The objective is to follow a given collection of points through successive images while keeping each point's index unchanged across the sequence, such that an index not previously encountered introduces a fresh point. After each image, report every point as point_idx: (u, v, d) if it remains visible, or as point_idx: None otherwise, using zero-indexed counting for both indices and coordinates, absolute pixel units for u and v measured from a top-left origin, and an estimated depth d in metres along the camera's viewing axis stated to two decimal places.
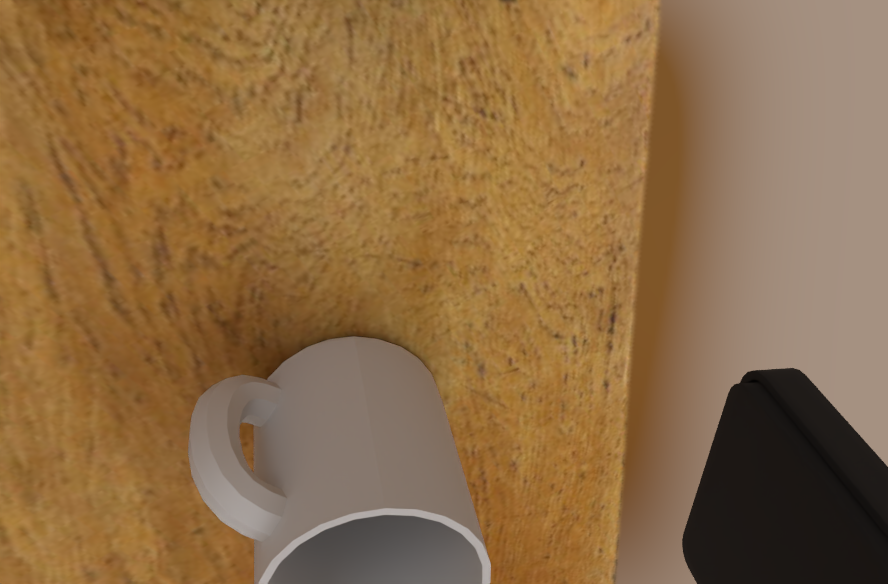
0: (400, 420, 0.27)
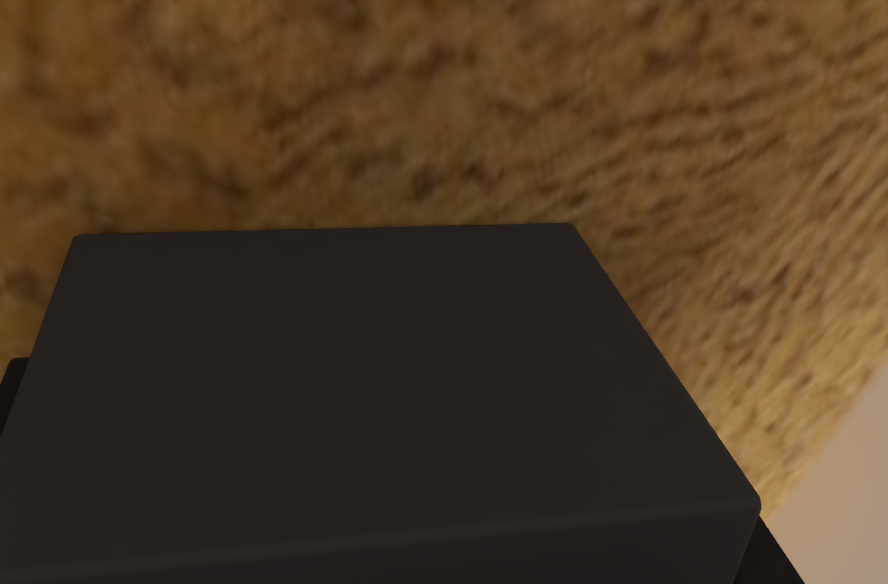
0: None
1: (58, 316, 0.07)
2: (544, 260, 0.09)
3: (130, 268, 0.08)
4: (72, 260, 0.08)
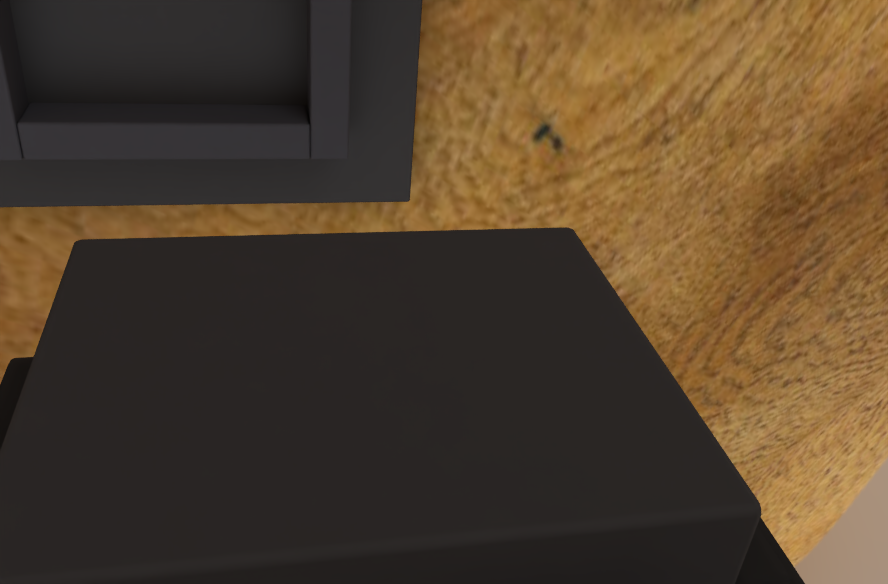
0: None
1: (59, 322, 0.07)
2: (544, 264, 0.09)
3: (132, 273, 0.08)
4: (73, 265, 0.08)
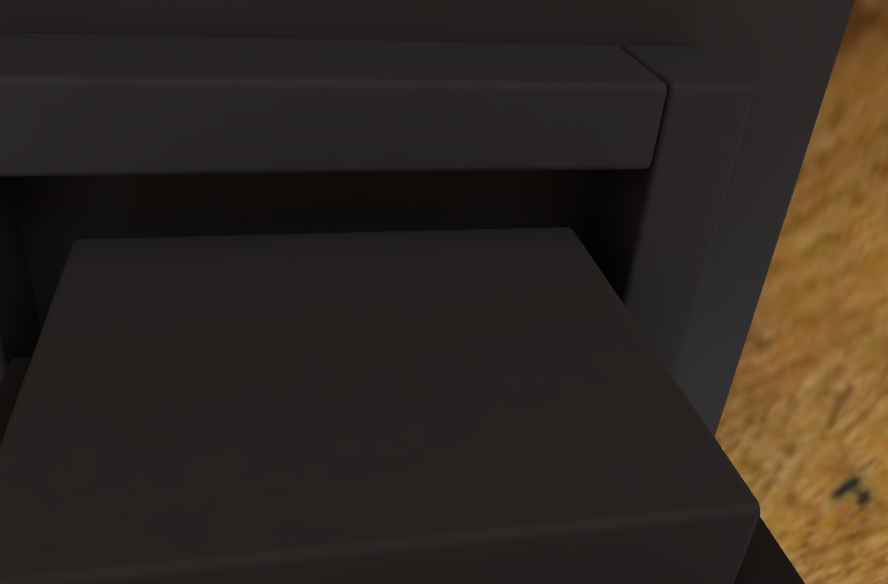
0: None
1: (59, 322, 0.07)
2: (544, 263, 0.09)
3: (130, 272, 0.08)
4: (72, 264, 0.08)
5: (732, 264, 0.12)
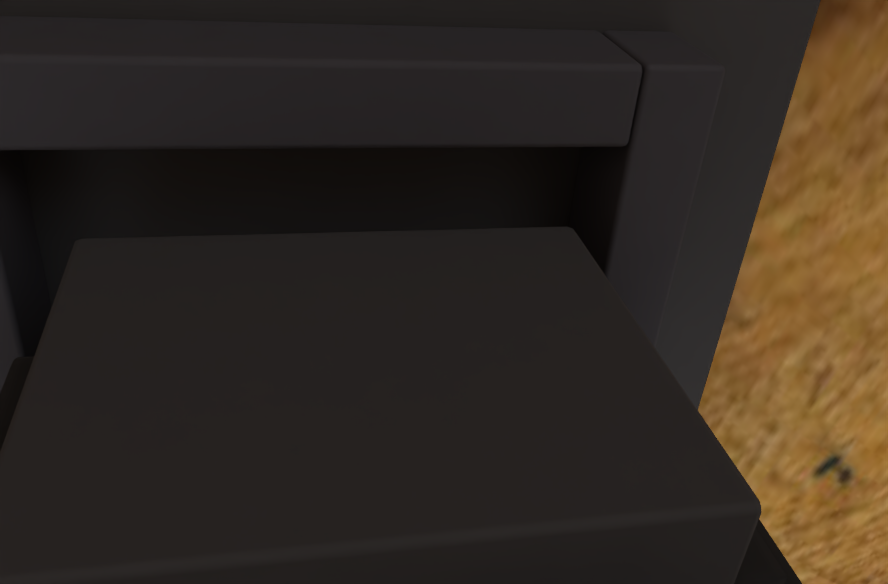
0: None
1: (60, 321, 0.07)
2: (545, 263, 0.09)
3: (132, 272, 0.08)
4: (74, 264, 0.08)
5: (711, 243, 0.13)
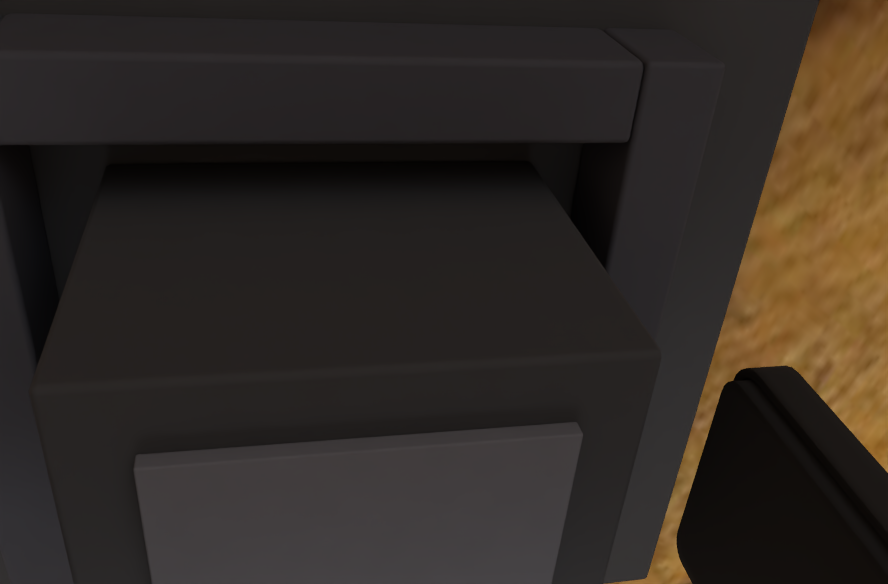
0: None
1: (99, 222, 0.09)
2: (504, 187, 0.11)
3: (155, 188, 0.10)
4: (107, 182, 0.10)
5: (712, 239, 0.13)
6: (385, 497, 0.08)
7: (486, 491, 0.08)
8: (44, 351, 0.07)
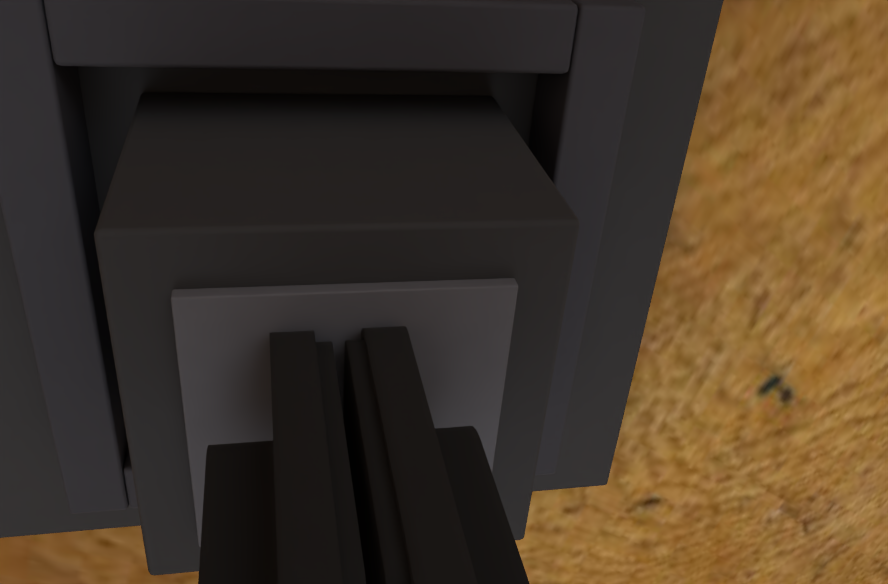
0: None
1: (138, 130, 0.11)
2: (468, 113, 0.13)
3: (183, 109, 0.12)
4: (142, 104, 0.12)
5: (651, 168, 0.15)
6: None
7: (443, 332, 0.10)
8: (103, 209, 0.09)
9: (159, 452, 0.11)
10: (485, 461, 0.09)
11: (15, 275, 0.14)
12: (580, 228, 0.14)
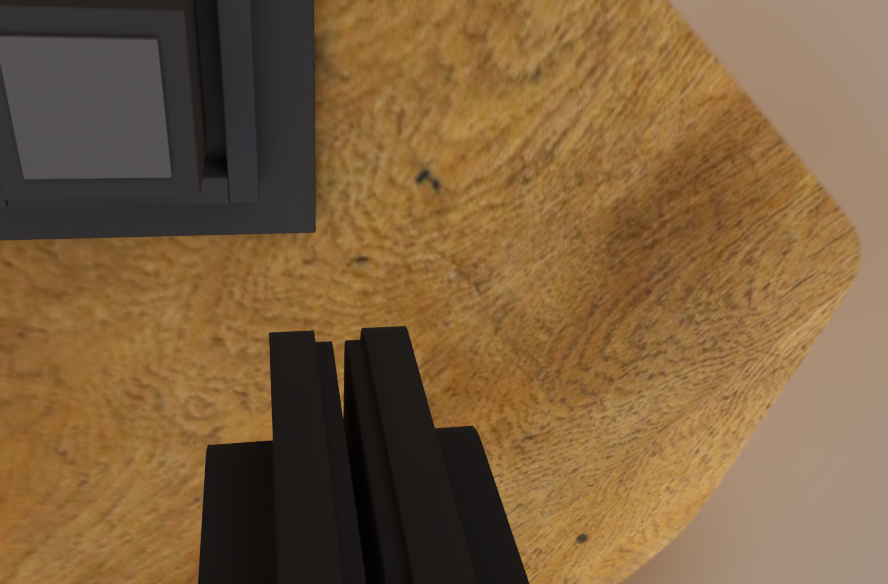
0: None
1: None
2: None
3: None
4: None
5: (294, 20, 0.27)
6: (87, 60, 0.22)
7: (125, 62, 0.23)
8: None
9: None
10: (486, 461, 0.09)
11: None
12: (237, 43, 0.26)
